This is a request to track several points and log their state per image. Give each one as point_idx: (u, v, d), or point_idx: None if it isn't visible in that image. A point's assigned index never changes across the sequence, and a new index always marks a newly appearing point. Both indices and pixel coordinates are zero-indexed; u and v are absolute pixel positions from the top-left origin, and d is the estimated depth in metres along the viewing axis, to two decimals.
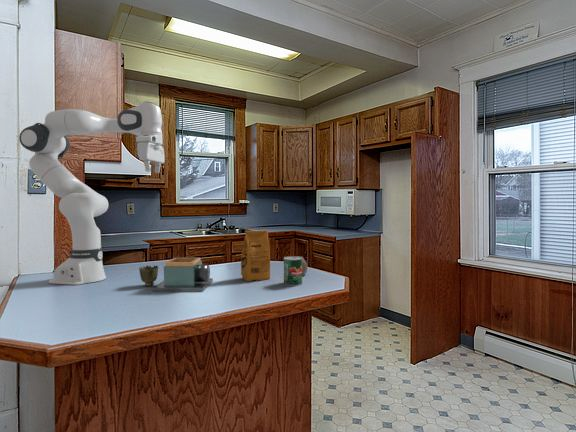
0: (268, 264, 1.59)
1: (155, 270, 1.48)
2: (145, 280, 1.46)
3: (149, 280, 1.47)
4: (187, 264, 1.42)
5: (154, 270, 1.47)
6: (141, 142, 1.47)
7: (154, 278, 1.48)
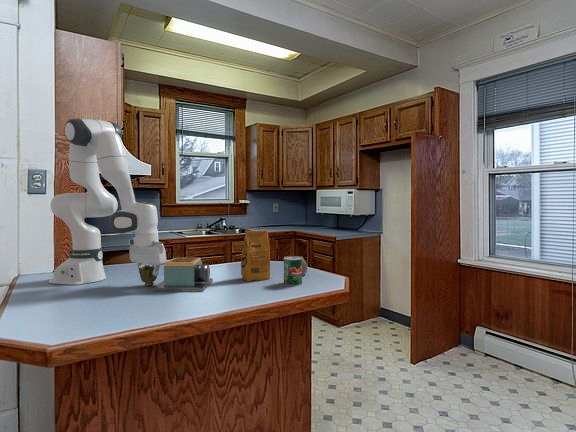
0: (268, 264, 1.59)
1: None
2: (145, 280, 1.46)
3: (150, 280, 1.47)
4: (187, 264, 1.42)
5: None
6: None
7: (154, 278, 1.48)
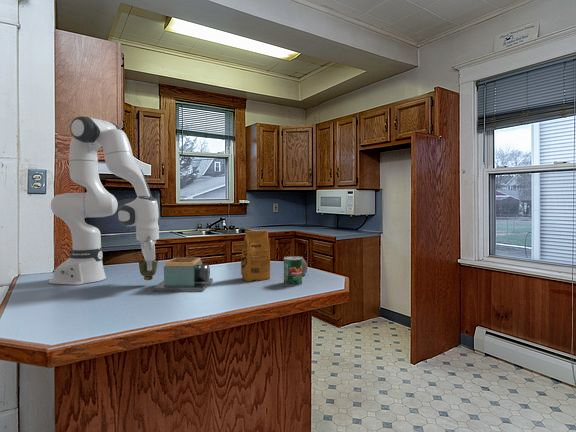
0: (268, 264, 1.59)
1: None
2: (141, 273, 1.47)
3: (144, 274, 1.47)
4: (187, 264, 1.42)
5: None
6: None
7: (150, 272, 1.47)
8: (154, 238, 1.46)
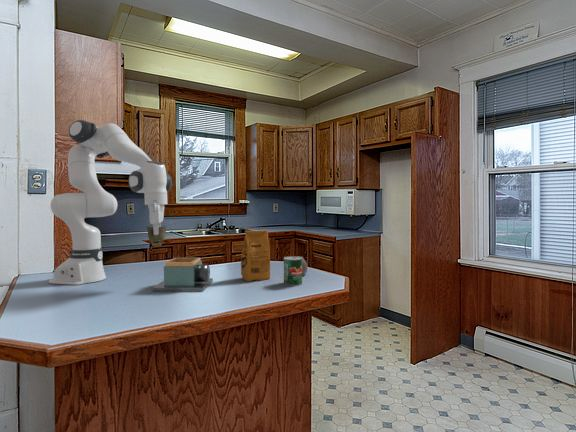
0: (268, 264, 1.59)
1: None
2: (149, 239, 1.46)
3: (152, 239, 1.45)
4: (187, 264, 1.42)
5: None
6: None
7: (157, 237, 1.45)
8: (161, 202, 1.44)
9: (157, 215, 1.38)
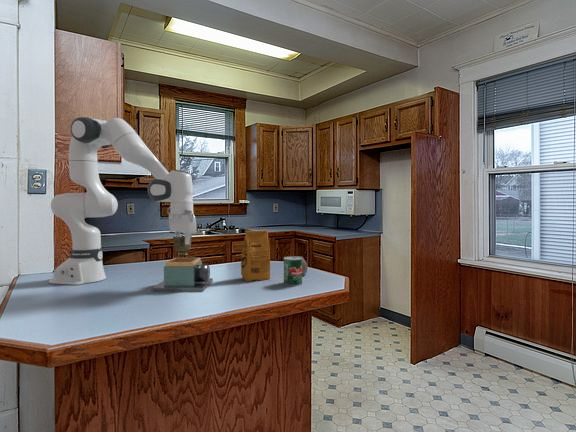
0: (268, 264, 1.59)
1: None
2: (177, 248, 1.44)
3: (181, 249, 1.44)
4: (187, 264, 1.42)
5: None
6: None
7: (186, 247, 1.44)
8: None
9: (195, 225, 1.39)
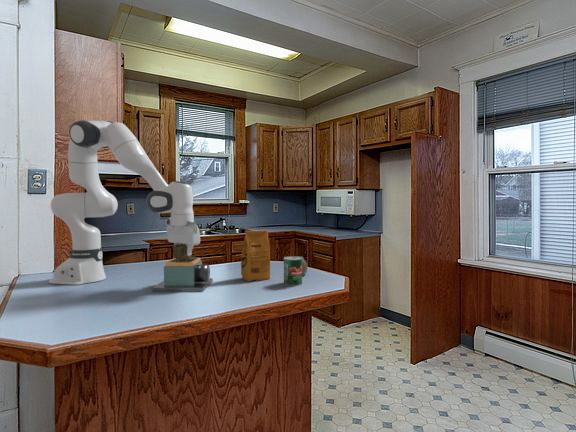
0: (268, 264, 1.59)
1: None
2: (178, 257, 1.44)
3: (182, 258, 1.44)
4: (187, 264, 1.42)
5: (186, 247, 1.44)
6: None
7: (187, 256, 1.45)
8: None
9: (198, 236, 1.41)
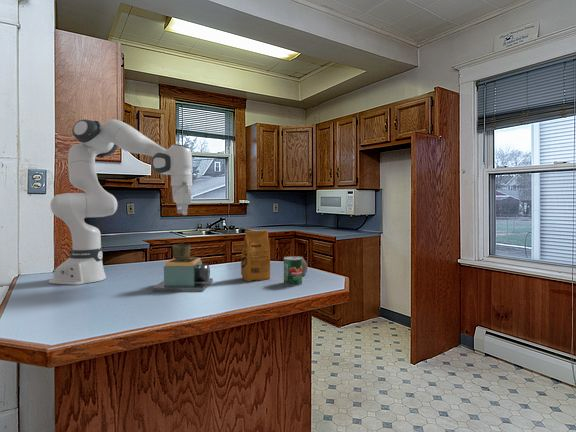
0: (268, 264, 1.59)
1: (187, 248, 1.45)
2: (177, 257, 1.44)
3: (181, 258, 1.44)
4: (187, 264, 1.42)
5: (186, 248, 1.44)
6: None
7: (186, 256, 1.45)
8: (189, 184, 1.52)
9: (190, 196, 1.47)
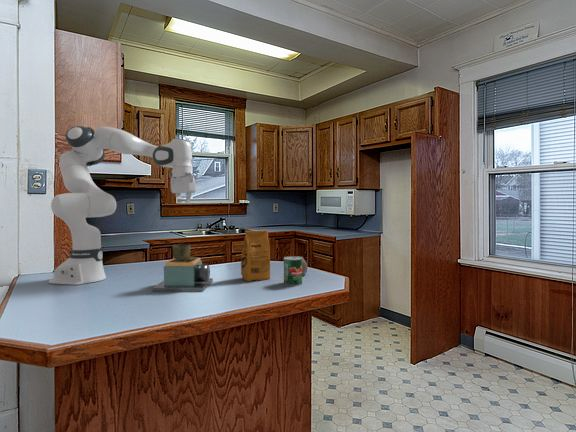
0: (268, 264, 1.59)
1: (187, 248, 1.45)
2: (177, 257, 1.44)
3: (181, 258, 1.44)
4: (187, 264, 1.42)
5: (186, 248, 1.44)
6: None
7: (186, 256, 1.45)
8: None
9: (194, 185, 1.62)
